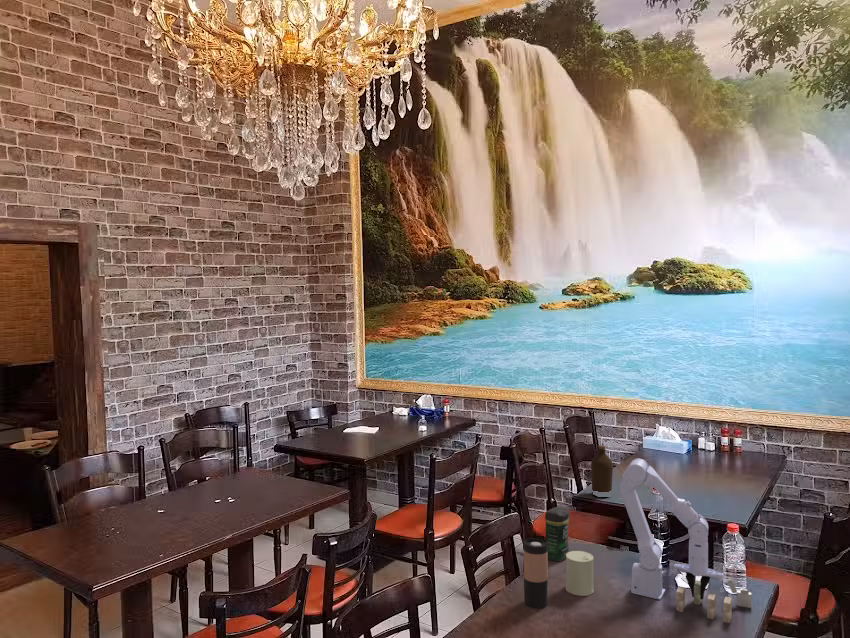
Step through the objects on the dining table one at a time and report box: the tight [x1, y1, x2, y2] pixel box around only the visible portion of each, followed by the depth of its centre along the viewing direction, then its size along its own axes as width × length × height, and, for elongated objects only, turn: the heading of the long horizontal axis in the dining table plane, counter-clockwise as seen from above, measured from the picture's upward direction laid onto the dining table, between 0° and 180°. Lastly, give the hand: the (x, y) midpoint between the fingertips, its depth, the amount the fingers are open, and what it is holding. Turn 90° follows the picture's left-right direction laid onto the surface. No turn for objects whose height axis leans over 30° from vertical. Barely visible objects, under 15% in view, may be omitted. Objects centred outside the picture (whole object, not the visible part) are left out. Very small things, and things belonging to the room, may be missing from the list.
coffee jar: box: [544, 506, 570, 562], centre depth 241 cm, size 10×8×19 cm
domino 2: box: [693, 579, 703, 606], centre depth 205 cm, size 2×4×6 cm, turn 148°
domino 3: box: [706, 592, 717, 620], centre depth 196 cm, size 2×4×6 cm, turn 148°
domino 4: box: [722, 596, 733, 624], centre depth 194 cm, size 2×4×6 cm, turn 148°
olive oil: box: [590, 444, 614, 492], centre depth 316 cm, size 11×11×25 cm
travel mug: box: [523, 537, 549, 610], centre depth 204 cm, size 8×8×20 cm
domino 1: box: [675, 585, 686, 613], centre depth 201 cm, size 2×4×6 cm, turn 148°
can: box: [565, 550, 595, 597], centre depth 214 cm, size 9×9×12 cm
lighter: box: [726, 578, 752, 609], centre depth 203 cm, size 7×2×8 cm, turn 66°
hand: (697, 597), depth 205 cm, fingers closed on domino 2, 2 cm apart
